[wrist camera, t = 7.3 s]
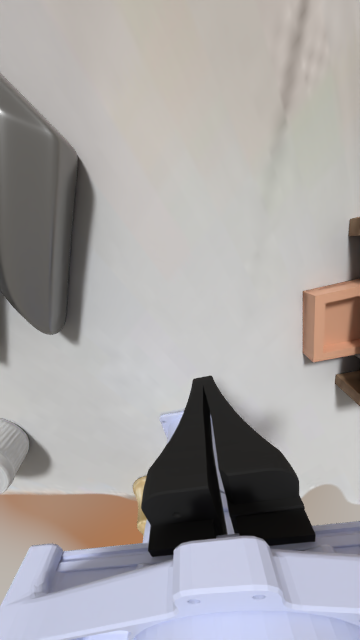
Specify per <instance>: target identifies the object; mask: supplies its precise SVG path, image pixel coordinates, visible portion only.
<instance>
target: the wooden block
mask: <svg viewBox="0 0 360 640" xmlns="http://www.w3.org/2000/svg"><path fill="white" fill-rule="evenodd" d="M349 236H360V217H356V218H353V219H350V226H349ZM355 356H356V357H358V358H360V354H355ZM335 384H336V385H337V386H338V387H339V388H341V389H342V390H343V391H344V392H345V393H346V394H347V395H348V396H349V397H350V398H351V399H353V400H354V401H355V402H356V403H357V404H358V405H359V406H360V370H359V371H354V372H348V373H343V374H337V375H336V379H335Z"/></svg>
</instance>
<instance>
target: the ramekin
mask: <svg viewBox="0 0 360 640" xmlns="http://www.w3.org/2000/svg"><path fill="white" fill-rule="evenodd" d="M28 450H29V439H28V436H27V434H26V433H25V432H24V431H23V430H22V429H21V428H20V427H19V426H17V425H16V424H14V423H12V422H10V421H8V420H5V419H2V418H0V494H1V493H3V492H5V491H6V490H7V489H8V487H9V486H10V485H11V483H12V482H13V480H14V477H15V474H16V472H17V471H18V469H19V467H20V465H21V464H22V462H23V460H24V458H25V457H26V455H27V453H28Z"/></svg>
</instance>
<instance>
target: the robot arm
mask: <svg viewBox="0 0 360 640" xmlns="http://www.w3.org/2000/svg"><path fill="white" fill-rule="evenodd" d="M160 421H161V424H162V427H163V429H164V432H165V434H166V437H167V445H166V447H165V448H164V450H163V451H162V453H161V454H160V456H159V457H158V458H157V460H156V461H155V462H154V463H153V465H152V466H151V467H150V469H149V470H148V473H147V477H146V481H145V484H144V489H143V496H142V503H141V509H142V512H143V513H144V515H145V517H146V518H147V520H146V525H145V531H144V538H143V543H140V544H131V545H120V546H110V547H101V548H91V549H81V550H71V551H63V550H62V548H61V547H59V546H58V545H56V544H42V545H34V546H31V547H30V548H29V550H28V552H27V554H26V556H25V558H24V560H23V562H22V564H21V566H20V568H19V570H18V572H17V574H16V576H15V578H14V580H13V582H12V584H11V586H10V588H9V590H8V592H7V594H6V596H5V598H4V600H3V602H2V604H1V606H0V640H360V521H356V522H346V523H336V524H327V525H316V526H312V525H311V523H310V521H309V519H308V517H307V514H306V512H305V510H304V504H303V502H302V501H301V498H300V496H299V480H298V477H297V475H296V473H295V471H294V470H293V468H292V467H291V465H290V464H289V462H288V461H287V459H286V458H285V457H284V455H283V454H282V453H281V452H280V450H278V449H277V448H275V447H274V446H273V445H271V444H270V443H269V442H268V441H266V440H265V439H264V438H263V437H261V436H260V435H259V434H258V433H257V432H256V431H254V430H253V429H252V428H251V427H250V426H249V425H248V424H247V423H246V422H245V421H244V420H243V419H242V418H241V417H240V416H239V415H238V414H237V413H236V412H235V411H234V409H233V408H232V407H231V406H230V405H229V403H228V402H227V401H226V399H225V398H224V397H223V395H222V394H221V392H220V391H219V389H218V387H217V386H216V384H215V382H214V380H213V377H212V376H206V377H201V378H196V379H193V383H192V388H191V392H190V396H189V399H188V402H187V405H186V408H185V410H184V411H182V412H176V413H170V414H165V415H161V416H160Z"/></svg>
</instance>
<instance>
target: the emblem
mask: <svg viewBox="0 0 360 640" xmlns="http://www.w3.org/2000/svg"><path fill="white" fill-rule="evenodd" d="M77 166H78V157H77V153H76V151H75V150H74V148H73V147H72V146H71V145H70V144H69V142H68V141H67V140H66V139H65V138H64V137H63V136H62V135H61V134H60V133H59V132H58V131H57V130H56V129H55V128H54V127H53V126H52V125H51V124H50V123H49V122H48V121H47V120H46V119H45V118H44V117H43V116H42V115H41V114H40V113H39V112H38V111H37V110H36V109H35V108H34V106H33V105H32V104H31V103H30V102H29V101H28V100H27V99H26V98H25V97H24V96H23V95H22V94H21V93H20V92H19V91H18V90H17V89H16V88H15V87H14V86H13V85H12V84H11V83H10V82H9V81H8V80H7V79H6V78H5V77H4V76H3V75H2V74H1V73H0V291H1V292H2V294H3V295H4V296H5V298H6V299H7V300H8V301H9V302H10V304H11V305H12V306H13V307H14V308H15V309H16V310H17V311H18V312H19V313H20V314H21V315H22V316H23V317H24V318H25V319H26V320H27V321H28V322H29V323H30V324H31V325H32V326H33V327H35V328H36V329H37V330H39V331H41V332H42V333H45V334H49V335H53V334H56V333H58V332H59V331H60V330H61V329H62V328H63V326H64V324H65V320H66V310H67V293H68V276H69V261H70V247H71V235H72V223H73V212H74V200H75V189H76V178H77Z"/></svg>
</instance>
